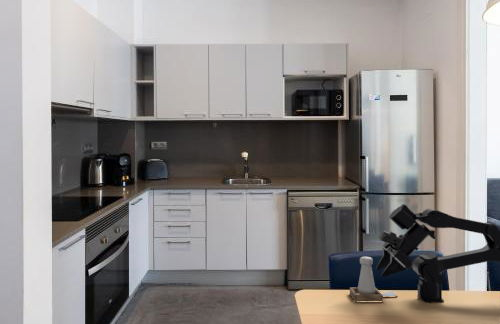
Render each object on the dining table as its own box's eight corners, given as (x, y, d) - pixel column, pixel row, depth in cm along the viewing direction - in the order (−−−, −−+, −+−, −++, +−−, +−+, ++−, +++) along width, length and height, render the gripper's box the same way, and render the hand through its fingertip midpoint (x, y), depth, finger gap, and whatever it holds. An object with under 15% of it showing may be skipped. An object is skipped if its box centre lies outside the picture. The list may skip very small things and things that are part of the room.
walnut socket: (376, 294, 147) (375, 287, 147) (382, 302, 138) (382, 295, 138) (349, 294, 148) (349, 287, 148) (354, 302, 139) (354, 295, 139)
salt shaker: (376, 298, 139) (375, 259, 139) (358, 298, 140) (357, 258, 141) (374, 293, 145) (374, 255, 145) (357, 292, 146) (356, 255, 146)
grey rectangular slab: (391, 293, 148) (391, 291, 148) (397, 297, 143) (397, 295, 143) (372, 293, 148) (372, 291, 148) (376, 297, 143) (376, 296, 143)
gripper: (387, 219, 151) (357, 250, 152) (400, 226, 133) (366, 262, 134) (411, 240, 150) (380, 272, 151) (427, 251, 132) (392, 286, 133)
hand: (379, 272), depth 142 cm, fingers open, 9 cm apart
